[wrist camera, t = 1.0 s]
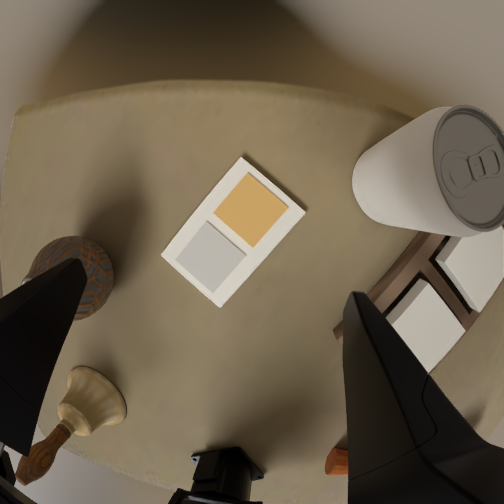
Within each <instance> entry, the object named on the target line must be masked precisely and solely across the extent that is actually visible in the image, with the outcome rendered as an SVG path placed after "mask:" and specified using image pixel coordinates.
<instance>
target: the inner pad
mask: <svg viewBox="0 0 504 504" xmlns="http://www.w3.org/2000/svg"><path fill="white" fill-rule="evenodd" d="M386 319H387V320H388V321H389V323H390V324H391V325H392V326H393V328H394V329H395V330H396V331H397V333H398V334H399V335H400V337H401V338H402V339H403V340H404V342H405V343H406V344H407V345H408V347H409V348H410V349H411V351H412V352H413V353H414V355H415V356H416V357H417V359H418V360H419V361H420V363H421V364H422V365H423V367H424V368H425V369H426V371H427V372H428V373H429V372H430V371H431V370H432V369H433V368H434V367H435V366H436V365H437V364H438V362H439V361H440V360H441V359H442V358H443V357H444V356H445V355H446V354H447V353H448V351H449V350H450V349H451V348H452V347H453V346H454V345H455V343H456V342H457V341H458V340H459V339H460V337H461V336H462V335H463V334H464V332H465V330H464V328H463V327H462V325H461V324H460V323H459V321H458V320H457V319H456V317H455V316H454V315H453V313H452V312H451V311H450V309H449V308H448V307H447V305H446V304H445V303H444V302H443V300H442V299H441V298H440V296H439V295H438V294H437V293H436V291H435V290H434V289H433V288H432V287H431V285H430V284H429V283H428V282H426V281H424V280H422V279H419V280H418V281H417V282H416V283H415V285H414V286H413V287H412V288H411V289H410V291H409V292H408V293H407V294H406V295H405V296H404V298H403V299H402V300H401V301H400V302H399V303H398V304H397V306H396V307H395V308H394V309H393V310H392V311H391V312H390V313H389V314H388V315H387V317H386Z"/></svg>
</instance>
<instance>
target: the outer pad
mask: <svg viewBox="0 0 504 504" xmlns="http://www.w3.org/2000/svg"><path fill="white" fill-rule="evenodd" d="M435 260H436V261H437V262H438V264H439V265H440V266H441V267H442V269H443V270H444V271H445V273H446V274H447V275H448V277H449V278H450V279H451V281H452V282H453V283H454V285H455V286H456V287H457V289H458V290H459V292H460V293H461V294H462V296H463V297H464V299H465V300H466V302H467V303H468V305H469V306H470V308H472V309H474V310H476V311H477V312H479V313H480V312H481V310H482V309H483V308H484V306H485V305H486V303H487V302H488V300H489V299H490V298H491V296H492V295H493V293H494V292H495V290H496V289H497V287H498V286H499V284H500V282H501V281H502V279H503V278H504V229H503V227H502V225H501V226H500V227H499V228H497V229H495V230H493V231H489V232H482V233H480V234H478V235H475V236H472V237H455V236H451V238H450V239H449V241H448V242H447V243H446V245H445V246H444V248H443V249H442V250H441V252H440V253H439V254H438V256H437V257H436V258H435Z"/></svg>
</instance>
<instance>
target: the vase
mask: <svg viewBox="0 0 504 504" xmlns="http://www.w3.org/2000/svg"><path fill="white" fill-rule="evenodd" d="M70 257H75V258H79V259H81V261H82V263H83V265H84V268H85V271H86V273H87V276H88V281H87V284H86V287H85V290H84V292H83V295H82V298H81V301H80V303H79V306H78V309H77V312H76V315H75V318H74V320H73V321H76V320H81V319H84V318H87V317H89V316H90V315H92V314H94V313H95V312H96V311H98V310H99V309H100V308H101V307H102V306H103V305H104V304H105V302H106V301H107V299H108V297H109V296H110V293H111V291H112V288H113V283H114V273H113V267H112V263H111V261H110V258H109V256H108V255H107V253H106V252H105V250H104V249H103V248H102V247H101V246H100V245H99V244H97V243H96V242H94V241H92V240H90V239H88V238H85V237H80V236H67V237H62V238H58V239H56V240H54V241H52V242H50V243H49V244H47V245H46V246H45V247H44V248H42V249H41V250H40V252H39V253H38V254H37V256H36V257H35V259H34V261H33V263H32V266H31V268H30V271H29V273H28V274H27V276H26V277H25V278H24V279H23V281H22V285H23V284H25V283H26V282H28V281H30V280H31V279H33V278H35V277H36V276H38V275H40V274H42V273H43V272H45V271H47V270H48V269H50V268H52V267H54V266H56V265H57V264H59V263H61V262H63V261H64V260H66V259H68V258H70Z"/></svg>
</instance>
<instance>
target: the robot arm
mask: <svg viewBox="0 0 504 504" xmlns="http://www.w3.org/2000/svg"><path fill="white" fill-rule="evenodd" d="M87 281H88V276H87V273H86V271H85V268H84V265H83V263H82V261H81V259H79V258H75V257H70V258H68V259H66V260H64V261H63V262H61V263H59V264H57V265H56V266H54V267H52V268H50V269H48V270H47V271H45V272H43V273H42V274H40V275H38V276H36V277H35V278H33V279H31V280H30V281H28V282H26V283H25V284H23V285H21V286H20V287H18V288H17V289H15V290H13V291H12V292H10V293H9V294H7V295H5V296H4V297H3V298H1V299H0V504H37V503H35V502H34V501H33V500H31V499H30V498H28V497H27V496H26V495H24V494H23V493H22V492H20V491H19V490H17V489H16V488H15V487H14V484H15V481H16V477H15V474H14V471H13V467H12V464H11V461H10V457H9V454H8V452H6V451H5V450H4V447H5V445H6V446H8V447H10V448H12V449H13V450H15V451H17V452H19V453H20V454H22V455H24V456H26V457H29V454H30V449H31V445H32V440H33V436H34V432H35V428H36V424H37V421H38V417H39V413H40V412H39V411H40V409H41V406H42V403H43V399H44V396H45V393H46V390H47V387H48V384H49V381H50V378H51V375H52V372H53V370H54V367H55V364H56V362H57V359H58V356H59V354H60V351H61V349H62V346H63V344H64V341H65V339H66V336H67V334H68V332H69V329H70V327H71V325H72V322H73V320H74V318H75V315H76V312H77V309H78V306H79V303H80V301H81V298H82V295H83V292H84V290H85V287H86V284H87ZM343 372H344V384H345V397H346V414H347V435H348V504H504V448H501V447H498V446H495V445H492V444H490V443H488V442H486V441H485V440H483V439H482V438H481V437H480V436H479V435H478V434H477V433H476V432H475V430H474V429H473V428H472V427H471V426H470V424H469V423H468V422H467V421H466V420H465V419H464V417H463V416H462V415H461V414H460V413H459V411H458V410H457V409H456V408H455V407H454V406H453V404H452V403H451V402H450V401H449V399H448V398H447V397H446V396H445V395H444V393H443V392H442V391H441V389H440V388H439V387H438V385H437V384H436V383H435V381H434V380H433V379H432V377H431V376H430V375H429V374H428V372H427V371H426V369H425V368H424V367H423V365H422V364H421V363H420V361H419V360H418V359H417V357H416V356H415V355H414V353H413V352H412V351H411V349H410V348H409V347H408V345H407V344H406V343H405V342H404V340H403V339H402V338H401V337H400V335H399V334H398V333H397V331H396V330H395V329H394V328H393V326H392V325H391V324H390V323H389V321H388V320H387V319H386V318H385V316H384V315H383V314H382V313H381V312H380V310H379V309H378V308H377V307H376V305H375V304H374V303H373V302H372V301H371V299H370V298H369V297H368V296H367V295H366V294H365V293H364V292H357V291H353V292H351V293H350V295H349V298H348V300H347V303H346V306H345V308H344V312H343ZM236 450H237V451H236ZM191 460H192V461H193V463H194V464H195V465H196V466H197V467H196V470H195V473H194V476H193V480H194V482H193V485H192V488H191V491H186V490H183V489H180V488H178V489H177V491H176V493H174V494H173V496H172V498H171V499H170V501H169V503H168V504H263V502H261V501H257V502H253V501H249V500H250V492H251V484H252V481H254V480H259V479H263V478H264V474H263V473H262V472H261V471H260V469H259V468H258V467H257V466H256V465H255V464H254V463H253V462H252V460H251V459H250V458H249V457H248V456H247V455H246V454H245V452H244V451H243V450H242V449H241V448H240V447H232V448H227V449H222V450H217V451H212V452H207V453H201V454H195V455H192V456H191Z"/></svg>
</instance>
